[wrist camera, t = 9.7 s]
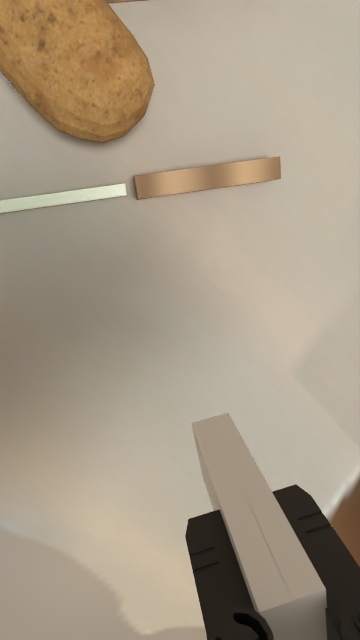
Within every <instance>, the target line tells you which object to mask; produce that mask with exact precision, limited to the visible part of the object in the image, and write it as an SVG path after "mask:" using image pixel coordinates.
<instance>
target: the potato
mask: <svg viewBox="0 0 360 640" xmlns="http://www.w3.org/2000/svg"><path fill="white" fill-rule="evenodd" d="M0 70H1V72H2V73H3V74H4V76H5V77H6V78H7V79H8V80H9V81H10V82H11V84H12V85H13V86H14V87H15V88H16V89H17V90H18V92H19V93H20V94H21V95H22V96H23V97H24V99H26V100H27V101H28V102H29V103H30V104H31V105H32V106H33V107H34V108H35V109H36V110H37V111H38V112H39V113H40V114H41V115H42V116H43V117H44V118H46V119H47V120H48V121H49V122H50V123H51V124H52V125H53V126H55V127H56V128H57V129H58V130H60V131H62V132H65V133H68V134H70V135H73V136H75V137H78V138H81V139H87V140H92V141H98V142H105V141H108V140H111V139H115V138H118V137H121V136H124V135H126V134H127V133H128V132H129V131H130V130H131V129H132V128H133V127H134V126H135V125H136V124H137V123H138V122H139V120H140V119H141V118H142V117H143V116H144V115H145V113H146V110H147V107H148V104H149V101H150V98H151V95H152V91H153V88H154V85H155V84H154V81H153V77H152V73H151V69H150V66H149V62H148V58H147V57H146V55H145V54H144V52H143V50H142V49H141V47H140V46H139V44H138V43H137V41H136V39H135V38H134V36H133V35H132V34H131V32H130V31H129V30H128V29H127V27H126V26H125V25H124V24H123V22H122V21H121V20H120V19H119V17H118V16H117V15H116V14H115V12H114V11H113V10H112V8H111V7H110V6H109V4H108V3H107V2H106V0H0Z"/></svg>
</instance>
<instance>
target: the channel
mask: <svg viewBox="0 0 360 640" xmlns="http://www.w3.org/2000/svg"><path fill="white" fill-rule="evenodd" d="M128 1H141V0H106V2H107V3H116V2H128ZM277 179H281V169H280V156H279V157H272V158H264V159H257V160H250V161H242V162H235V163H227V164H220V165H212V166H205V167H197V168H190V169H182V170H175V171H167V172H160V173H152V174H145V175H138V176H134V184H135V190H136V196H137V200H138V199H145V198H152V197H159V196H166V195H173V194H180V193H187V192H194V191H201V190H208V189H215V188H222V187H229V186H237V185H244V184H251V183H258V182H265V181H271V180H277Z"/></svg>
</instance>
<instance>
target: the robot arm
mask: <svg viewBox="0 0 360 640" xmlns="http://www.w3.org/2000/svg"><path fill="white" fill-rule="evenodd" d="M191 424H192V428H193V433H194V438H195V442H196V447H197V452H198V456H199V461H200V465H201V470H202V475H203V478H204V482H205V485H206V488H207V491H208V494H209V497H210V500H211V503H212V506H213V509H214V511H213V512H210V513H207V514H203V515H200V516H197V517H194V518H191V519H189V520H188V525H187V531H186V536H185V537H186V542H187V546H188V551H189V555H190V560H191V565H192V569H193V574H194V578H195V583H196V588H197V592H198V597H199V601H200V606H201V610H202V615H203V620H204V624H205V629H206V633H207V640H360V567H359V566H358V564H357V563H356V561H355V560H354V558H353V557H352V556H351V554H350V552H349V551H348V549H347V548H346V546H345V545H344V544H343V542H342V541H341V539H340V538H339V536H338V535H337V533H336V532H335V530H334V529H333V527H331V525H330V523H329V522H328V520H327V519H326V517H325V516H324V514H322V512H321V510H320V508H319V507H318V505H317V504H316V502H315V501H314V499H313V498H312V497H311V495H309V494H308V493H307V492H305V491H304V490H303V489H301V488H300V487H299V486H297V485H293V486H289V487H286V488H283V489H280V490H277V491H273V492H272V491H271V489H270V487H269V486H268V484H267V482H266V480H265V478H264V477H263V475H262V473H261V471H260V469H259V467H258V466H257V464H256V462H255V460H254V458H253V457H252V455H251V453H250V451H249V449H248V448H247V446H246V444H245V442H244V440H243V439H242V437H241V435H240V433H239V431H238V430H237V428H236V426H235V424H234V422H233V421H232V419H231V417H230V415H229V413H226V414H223V415H219V416H215V417H212V418H208V419H205V420H201V421H198V422H194V423H191Z"/></svg>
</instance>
